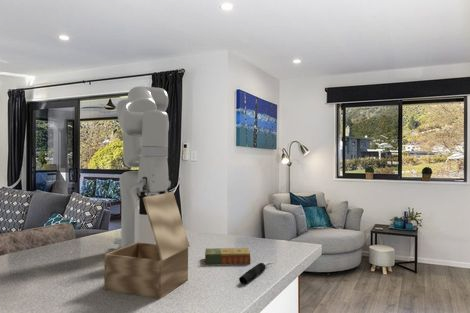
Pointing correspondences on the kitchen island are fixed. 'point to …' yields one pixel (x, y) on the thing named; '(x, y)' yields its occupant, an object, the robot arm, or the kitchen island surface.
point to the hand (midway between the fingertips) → (154, 212)
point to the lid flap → (166, 224)
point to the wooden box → (144, 271)
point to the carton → (227, 256)
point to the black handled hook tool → (253, 272)
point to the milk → (143, 228)
